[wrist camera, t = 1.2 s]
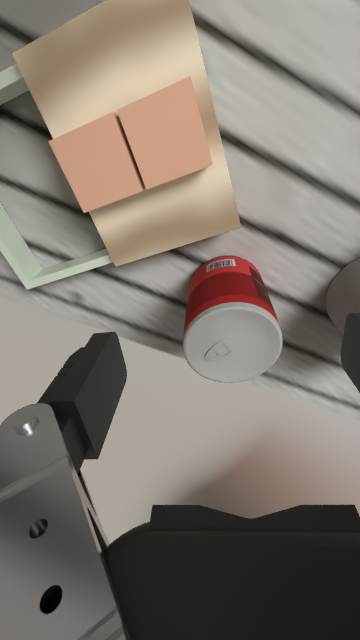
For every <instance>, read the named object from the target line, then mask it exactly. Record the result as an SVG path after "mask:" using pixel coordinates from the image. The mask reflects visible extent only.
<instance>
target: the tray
mask: <svg viewBox="0 0 360 640" xmlns="http://www.w3.org/2000/svg"><path fill="white" fill-rule="evenodd" d="M28 90H29V88H28V86H27V84H26V82H25V80H24V78H23V76H22V74H21V72H20V70H19V68H18V66H17V64H14V65H12V66H10V67H9V68H7V69H5V70H3V71H1V72H0V105H2V104H4V103H5V102H7V101H9V100H11V99H13V98H15V97H17V96H19V95H21V94H23V93H25V92H27V91H28ZM0 251H1V253H2V254H3V255H4V257H5V258H6V260H7V261H8V263H9V264H10V266H11V267H12V269H13V270H14V272H15V273H16V274H17V276H18V277H19V279H20V280H21V282H22V283H23V285H24V286H25V288H26V289H27V290H28V289H31V288H34V287H37V286H40V285H43V284H46V283H50V282H53V281H56V280H59V279H62V278H65V277H68V276H72V275H75V274H78V273H81V272H84V271H87V270H90V269H94V268H97V267H100V266H103V265H106V264H109V263H112V262H113V261H112V259H111V257H110V255H109V252H108V250H107V248H106V249H103V250H100V251H97V252H94V253H91V254H88V255H85V256H82V257H79V258H76V259H73V260H70V261H67V262H64V263H61V264H58V265H55V266H52V267H49V268H46V269H43V270H42V268H41V267H40V265H39V263H38V262H37V260H36V259H35V257H34V256H33V254H32V252H31V251H30V249H29V248H28V246H27V244H26V243H25V241H24V240H23V238H22V236H21V235H20V233H19V232H18V230H17V229H16V227H15V225H14V224H13V222H12V221H11V219H10V217H9V216H8V214H7V213H6V211H5V209H4V208H3V206H2V205H1V203H0Z"/></svg>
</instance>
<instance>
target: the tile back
mask: <svg viewBox="0 0 360 640" xmlns="http://www.w3.org/2000/svg"><path fill="white" fill-rule="evenodd" d="M48 142H49V144H50V146H51V148H52V150H53V152H54V154H55V156H56V158H57V160H58V162H59V164H60V166H61V168H62V170H63V172H64V174H65V176H66V178H67V180H68V182H69V184H70V186H71V188H72V190H73V192H74V194H75V196H76V198H77V200H78V202H79V204H80V206H81V208H82V210H83V212H84V213H86V212H88V211H91V210H94V209H96V208H99V207H102V206H104V205H107V204H110V203H112V202H115V201H118V200H120V199H123V198H126V197H128V196H131V195H134V194H136V193H139V192H142V191H143V190H144V189H146V187H145V185H144V182H143V179H142V177H141V174H140V171H139V168H138V166H137V163H136V160H135V158H134V155H133V152H132V150H131V147H130V144H129V142H128V139H127V136H126V134H125V131H124V128H123V126H122V123H121V120H120V118H119V115H118V113H116V112H111V113H109V114H107V115H105V116H102V117H100V118H98V119H96V120H94V121H92V122H89V123H87V124H85V125H83V126H81V127H78V128H76V129H74V130H72V131H70V132H68V133H65V134H63V135H61V136H59V137H57V138H55V139H52V140H50V141H48Z"/></svg>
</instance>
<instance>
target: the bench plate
mask: <svg viewBox="0 0 360 640" xmlns="http://www.w3.org/2000/svg"><path fill="white" fill-rule="evenodd" d="M12 55H13V57H14V59H15V61H16V64H17V66H18V68H19V70H20V72H21V74H22V76H23V78H24V80H25V82H26V84H27V86H28V88H29V90H30V92H31V94H32V96H33V98H34V100H35V103H36V105H37V107H38V109H39V111H40V113H41V115H42V117H43V119H44V121H45V123H46V125H47V127H48V129H49V131H50V133H51V135H52V137H53V139H55V138H57V137H59V136H61V135H63V134H65V133H68V132H70V131H72V130H74V129H76V128H78V127H81V126H83V125H85V124H87V123H89V122H92V121H94V120H96V119H98V118H100V117H102V116H105V115H107V114H109V113H111V112H116V113H118V112H117V110H118V109H120V108H122V107H124V106H126V105H128V104H131V103H133V102H135V101H137V100H139V99H141V98H144V97H146V96H148V95H150V94H152V93H155V92H157V91H159V90H161V89H163V88H165V87H168V86H170V85H172V84H174V83H176V82H178V81H181V80H183V79H185V78H187V77H189V76H191V80H192V84H193V88H194V91H195V95H196V99H197V103H198V107H199V111H200V115H201V119H202V123H203V127H204V131H205V135H206V139H207V143H208V147H209V151H210V155H211V159H212V164H213V165H211V166H208V167H206V168H203V169H200V170H198V171H195V172H192V173H190V174H187V175H184V176H182V177H179V178H176V179H174V180H171V181H168V182H166V183H163V184H160V185H158V186H155V187H152V188H150V189H147V190H146V189H144V190H143V191H142V192H139V193H136V194H134V195H131V196H128V197H126V198H123V199H120V200H118V201H115V202H112V203H110V204H107V205H104V206H102V207H99V208H96V209H94V210H91V211H89V213H90V216H91V218H92V220H93V222H94V224H95V226H96V228H97V230H98V232H99V234H100V236H101V238H102V240H103V242H104V244H105V246H106V248H107V250H108V252H109V255H110V257H111V259H112V261H113V263H114V265H115V267H116V266H120V265H123V264H126V263H129V262H132V261H135V260H139V259H142V258H145V257H148V256H151V255H155V254H158V253H161V252H164V251H167V250H171V249H174V248H177V247H180V246H183V245H187V244H190V243H193V242H196V241H199V240H203V239H206V238H209V237H212V236H215V235H218V234H222V233H225V232H228V231H231V230H234V229H238V228H241V224H240V220H239V216H238V211H237V207H236V203H235V198H234V194H233V190H232V185H231V181H230V176H229V172H228V168H227V163H226V159H225V155H224V150H223V146H222V142H221V137H220V133H219V128H218V124H217V120H216V115H215V111H214V107H213V102H212V98H211V94H210V89H209V85H208V80H207V76H206V72H205V67H204V63H203V59H202V54H201V50H200V45H199V41H198V37H197V32H196V28H195V24H194V19H193V15H192V11H191V6H190V2H189V0H105V1H103V2H101V3H100V4H98V5H96V6H94V7H93V8H91V9H89V10H87V11H86V12H84V13H82V14H80V15H79V16H77V17H75V18H73V19H71V20H70V21H68V22H66V23H64V24H63V25H61V26H59V27H57V28H56V29H54V30H52V31H50V32H49V33H47V34H45V35H43V36H42V37H40V38H38V39H36V40H35V41H33V42H31V43H29V44H28V45H26V46H24V47H22V48H21V49H19V50H17V51H15V52H14V53H12Z"/></svg>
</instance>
